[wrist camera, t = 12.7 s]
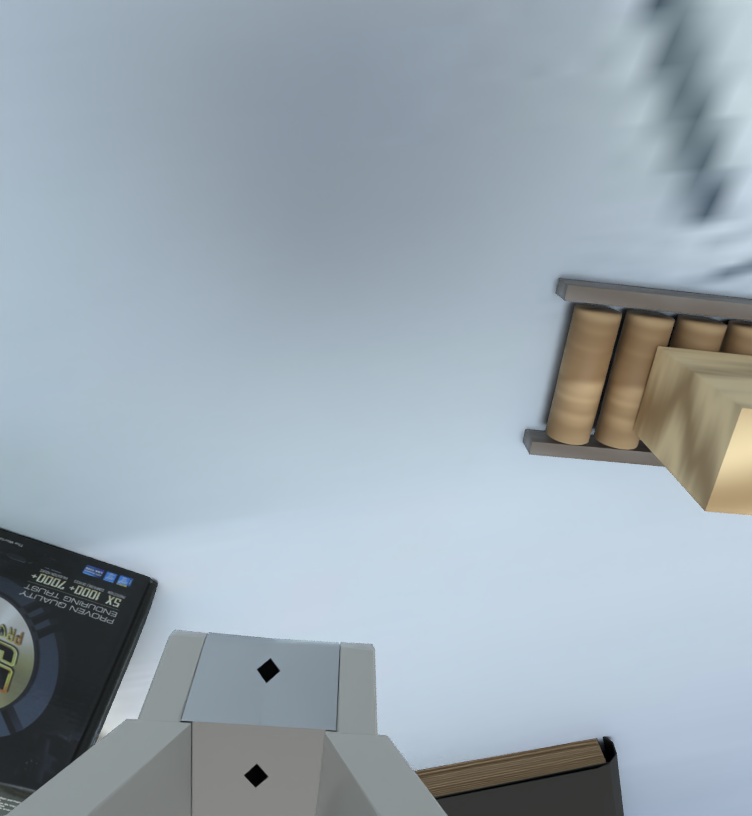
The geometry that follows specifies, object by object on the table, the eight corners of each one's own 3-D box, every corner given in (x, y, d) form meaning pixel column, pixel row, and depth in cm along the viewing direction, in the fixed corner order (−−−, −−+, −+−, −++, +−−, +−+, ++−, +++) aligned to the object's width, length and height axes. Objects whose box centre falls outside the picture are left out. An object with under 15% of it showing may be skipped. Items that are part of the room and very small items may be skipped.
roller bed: (559, 278, 43) (572, 288, 40) (833, 308, 44) (865, 320, 42) (523, 441, 48) (533, 461, 45) (772, 464, 49) (796, 484, 46)
